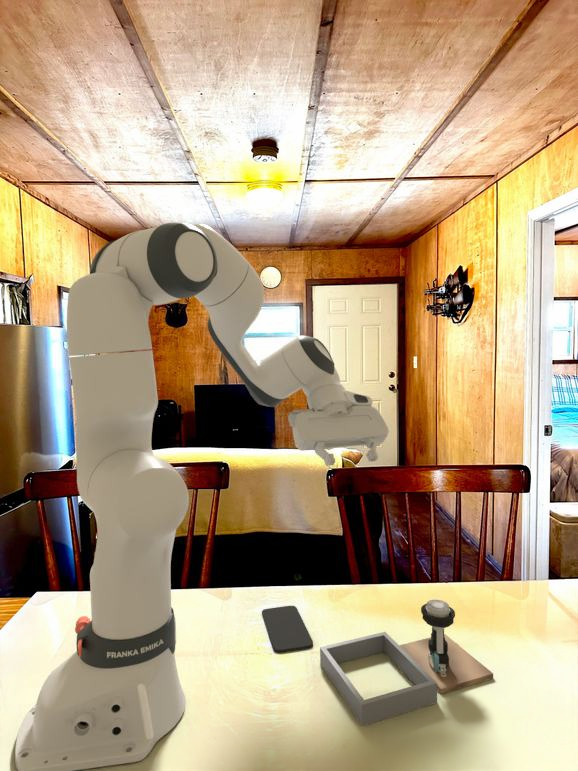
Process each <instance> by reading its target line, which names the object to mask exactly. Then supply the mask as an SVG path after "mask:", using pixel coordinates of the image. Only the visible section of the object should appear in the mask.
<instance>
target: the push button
mask: <svg viewBox="0 0 578 771" xmlns="http://www.w3.org/2000/svg"><path fill="white" fill-rule="evenodd" d="M420 612H421V614H422V621H424V622H425V623H426V624H427V625H429V626H431V633H430V637H431V640H430V639H429V641H428V647H429V650H430V652H428V661H429V664H430V657H431V659H432V662H433V665H434V669H435V672H440V674H441V676H442V677H446V672H447V667H449V656H448V654H447V651H448V643H447V641H446V640H445V637H444V634H445V629H446V628H448V627H450V626H451V625H453V624H454V620H455V619H454V618H456V611H455V610H454V609H453V607H451V606H450V605H449V604H448V603H447V602H446V601H444V600H441V599H430V600H428V601H426V603H425V604H423V605H421V607H420ZM442 674H444V675H442Z"/></svg>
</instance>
